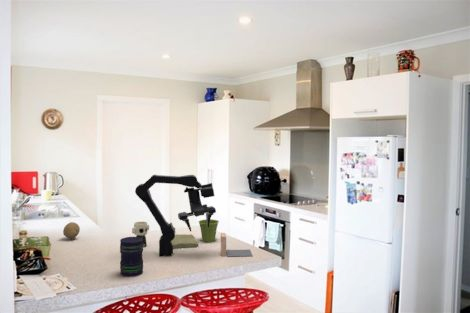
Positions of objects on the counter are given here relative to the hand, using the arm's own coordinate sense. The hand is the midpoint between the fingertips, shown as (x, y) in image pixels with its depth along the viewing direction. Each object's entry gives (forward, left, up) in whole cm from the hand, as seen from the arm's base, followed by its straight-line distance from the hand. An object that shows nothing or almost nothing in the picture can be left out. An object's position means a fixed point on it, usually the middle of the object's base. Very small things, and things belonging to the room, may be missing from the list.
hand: (199, 229), depth 204 cm
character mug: (-30, +19, -13) cm, 38 cm away
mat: (+20, -2, -13) cm, 24 cm away
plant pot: (+8, +25, -13) cm, 30 cm away
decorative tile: (-9, +21, -14) cm, 27 cm away
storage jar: (-32, -24, -13) cm, 42 cm away
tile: (+12, -2, -13) cm, 18 cm away
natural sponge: (-70, +40, -13) cm, 82 cm away
